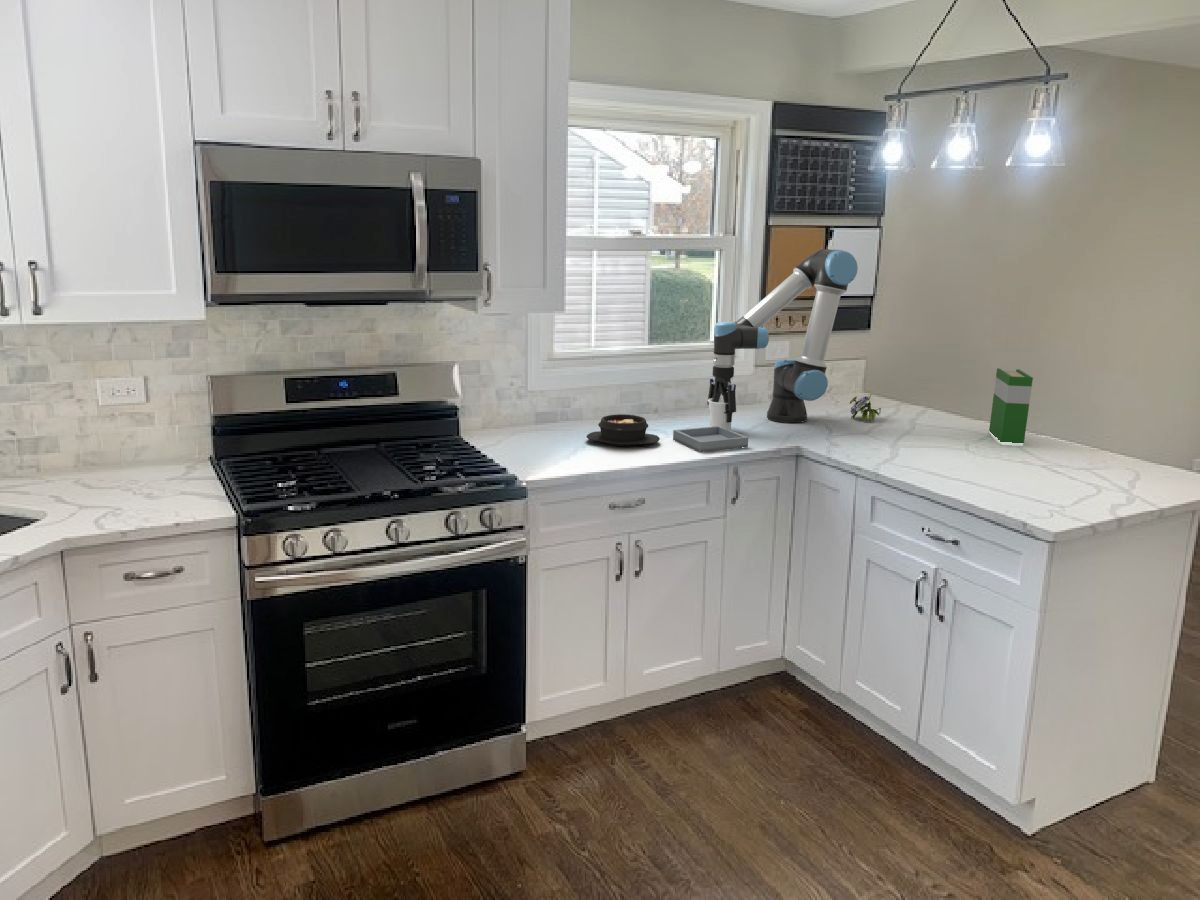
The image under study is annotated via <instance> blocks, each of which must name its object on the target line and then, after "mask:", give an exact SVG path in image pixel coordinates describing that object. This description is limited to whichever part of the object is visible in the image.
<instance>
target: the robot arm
mask: <svg viewBox="0 0 1200 900" xmlns="http://www.w3.org/2000/svg"><path fill="white" fill-rule="evenodd" d="M792 270H793V271H792V272H793V273H791V274H790V275H789V276H788V277H787V278H785V279H784V280H783V281H782V282H781V283H780V284H779V285H777V286H776V287H775V288H774V289H773V290H771V291H770V292H769V293H768V294H767V295H766V296H765V297H764V298H762V299H761V300H760V301H759V302H758V303H756V305H754V306H753V307H752V308H751V309H750V310H748V311H747V312H746V313H745V314H744V315H742V316H741V317H740V318H739V319H737V320H736V321H718V322H716V323H715V327H714V333H713V336H714V337H713V357H712V360H713V362H712V365H713V366H712V377H714V378H710V379H709V389H708V390H709V391H708V394H707V395H708V396H707V403H706V404H707V405H708V406H709V401H708V399H711V398H713V399H712V402H717V403H718V402H719V399H720V398H721V396H722V398H723V400H724V403H728V404H726V405H725V411H726V412H724V428H726V429H729V430H731V431H732V421H733V420H732V419H733V418H732V417H733V413H737V400H736V389H737V384H735V383H732V381H731V380H732V378H733V377H734V376H735V367H734V366H735V361H736V360H735V359H736V350H740V349H741V350H742V349H744V350H745V349H747V350H750V349H751V350H755V349H756V350H759V349H765V348H767V346H768V345H769V341H770V340H769V339H770V334H769V330H768V329H767V328H766V327H763V326H765V324H767V323H768V322H769V321H770V320H771V319H773V318H774V317H775V316H776V315H777V314H778V313H780V311H782V310H783V309H784V308H786V307H787V305H789V304H790V303H792V301H794V300H795V299H796V298H797V297H798V296H799V295H800V294H802V293H803V292H804V291H805V290H806V289H807V290H808V289H812V288H813V287H815V289H816V292H815V297H814V301H813V305H812V308H811V312H810V316H809V320H808V323H807V324H808V325H807V329H806V333H805V337H804V340H803V344H802V347H801V348H802V349H801V353H800V356H798V357H797V358H793V359H777V360H776V361H775V363H774V368H773V384H772V385H773V386H772V388H773V389H772V390H773V391H772V399H771V402H770V404H769V407H768V410H767V412H766V419H767V418H768V420H769V419H770V420H769V421H772V420H773V421H772V422H776V421H778V422H777V423H783V422H800V423H803V422H802V421H805V420H807V421H808V412H807V407H806V404H805V401H808V402H811V401H812V402H813V401H816V400H818V399H820V398H821V397H822V396H823V395H825V393H826V392H827V390H828V386H829V380H828V378H827V375H826V371H827V369H828V368H827V367H828V366H827V364H826V362H825V357H826V355H827V354H826V353H827V351H828V347H829V342H830V339H831V335H832V332H833V331H832V330H833V327H834V323H835V319H836V315H837V312H838V307H839V303H840V299H841V297H842V295H843V294H844V293H846V292H847V290H848V286H849V284H850V283H852V281H854V280H855V278H856V277H857V275H858V263H857V259H856V258H855V257H854V255H853V254H851V252H848V251H847V250H846V251H845V250H843V249H830V248H821V249H818V250H816V251H814V252H813V253H811V254H810V255H809V256H807V257H806V258H805V259H803V260H802V261H801V262H800V263H798V265H796V266H795V267H794V268H793V269H792ZM728 409H729V410H728ZM709 422H710V424H709V427H712V426H711V418H710V421H709ZM805 422H806V421H805Z"/></svg>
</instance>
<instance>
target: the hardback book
mask: <svg viewBox="0 0 1200 900" xmlns="http://www.w3.org/2000/svg"><path fill="white" fill-rule="evenodd" d="M1033 381H1034V377H1032V376H1031V375H1029V374H1028V373H1026V372H1025V371H1022V369H1018V368H1016V370H1003V369H1001V368H999V367H997V368H996V373H995V381H994V382H995V383H994V389H993V397H992V406H991V412H990V422H989V428H988V429H989V430H988V432H989V431H990V432H991V433H992V434H993V435H994V436H995V437H997V438H998V440H1000V442H1012V443H1024V444H1025V438H1026V431H1027V430H1026V429H1027V425H1028V416H1029V411H1030V410H1029V408H1030V403H1031V395H1032V394H1031V393H1032V388H1033Z"/></svg>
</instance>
